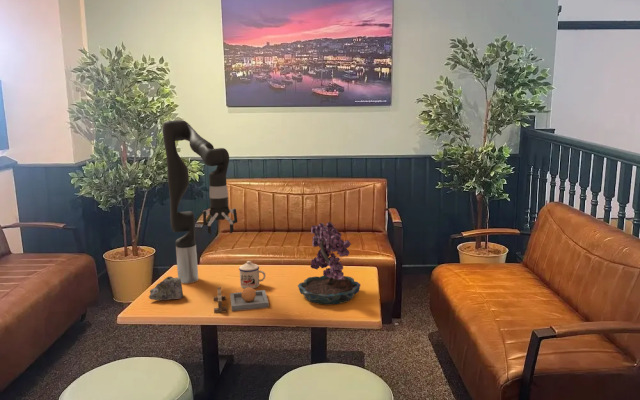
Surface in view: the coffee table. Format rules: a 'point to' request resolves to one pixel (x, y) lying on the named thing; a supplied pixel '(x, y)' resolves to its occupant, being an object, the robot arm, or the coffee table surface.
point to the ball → (248, 294)
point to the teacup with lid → (250, 275)
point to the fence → (220, 302)
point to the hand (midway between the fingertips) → (221, 233)
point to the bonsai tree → (329, 269)
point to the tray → (241, 304)
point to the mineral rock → (167, 289)
